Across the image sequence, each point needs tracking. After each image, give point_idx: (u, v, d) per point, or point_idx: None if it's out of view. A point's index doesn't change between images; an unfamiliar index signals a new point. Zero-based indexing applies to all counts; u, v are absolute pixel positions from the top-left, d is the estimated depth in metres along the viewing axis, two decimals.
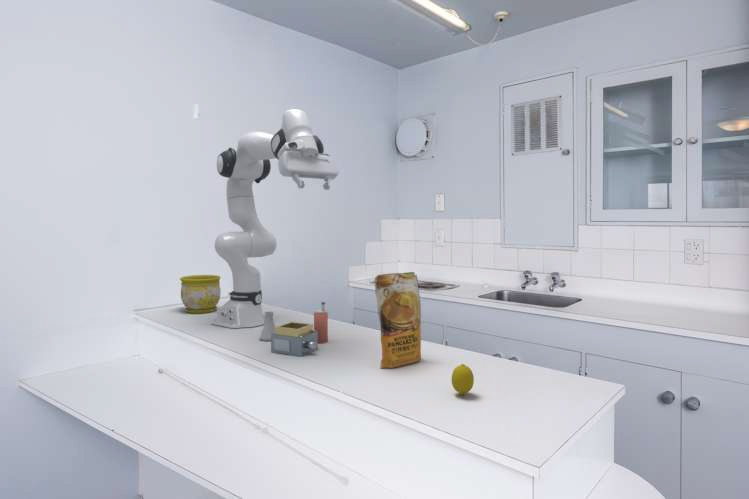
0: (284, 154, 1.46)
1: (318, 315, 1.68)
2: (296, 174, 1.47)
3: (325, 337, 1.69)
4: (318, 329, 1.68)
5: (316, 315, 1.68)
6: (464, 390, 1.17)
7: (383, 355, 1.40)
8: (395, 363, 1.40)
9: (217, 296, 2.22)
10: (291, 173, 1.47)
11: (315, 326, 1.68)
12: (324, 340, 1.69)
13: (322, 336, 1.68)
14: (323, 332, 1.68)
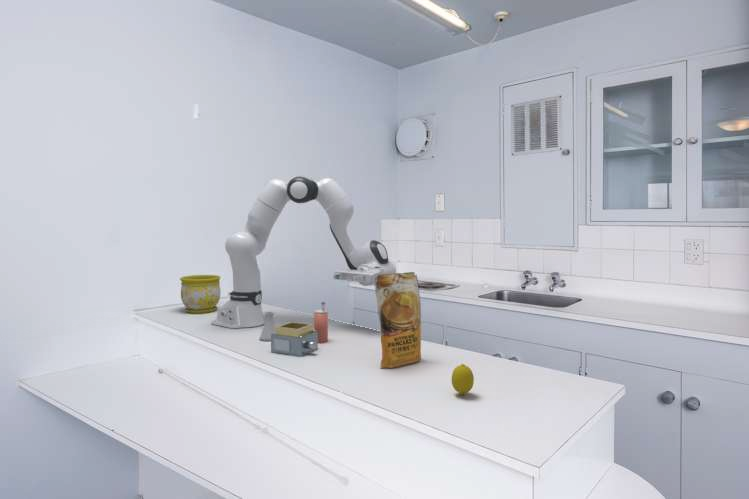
0: None
1: (318, 315, 1.68)
2: (362, 281, 1.78)
3: (325, 337, 1.69)
4: (318, 329, 1.68)
5: (316, 315, 1.68)
6: (464, 390, 1.17)
7: (383, 355, 1.40)
8: (395, 363, 1.40)
9: (217, 296, 2.22)
10: (366, 279, 1.78)
11: (315, 326, 1.68)
12: (324, 340, 1.69)
13: (322, 336, 1.68)
14: (323, 332, 1.68)
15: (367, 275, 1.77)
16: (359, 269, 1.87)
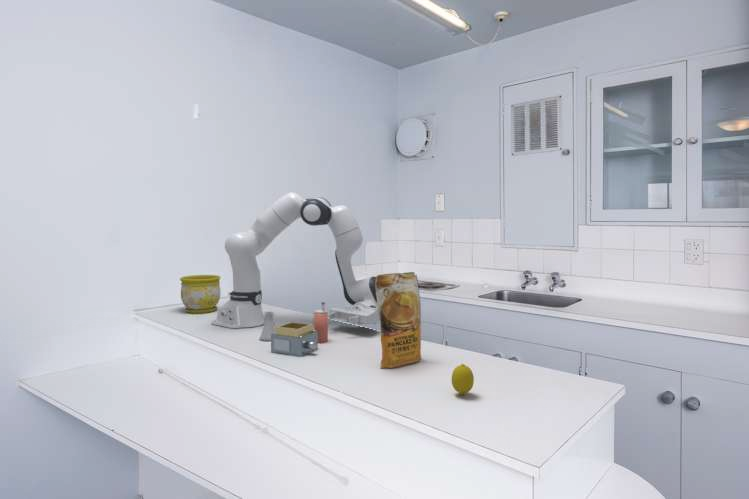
0: (374, 323, 1.80)
1: (318, 315, 1.68)
2: None
3: (325, 337, 1.69)
4: (318, 329, 1.68)
5: (316, 315, 1.68)
6: (464, 390, 1.17)
7: (383, 355, 1.40)
8: (395, 363, 1.40)
9: (217, 296, 2.22)
10: (361, 320, 1.77)
11: (315, 326, 1.68)
12: (324, 340, 1.69)
13: (322, 336, 1.68)
14: (323, 332, 1.68)
15: (362, 316, 1.76)
16: (354, 307, 1.86)
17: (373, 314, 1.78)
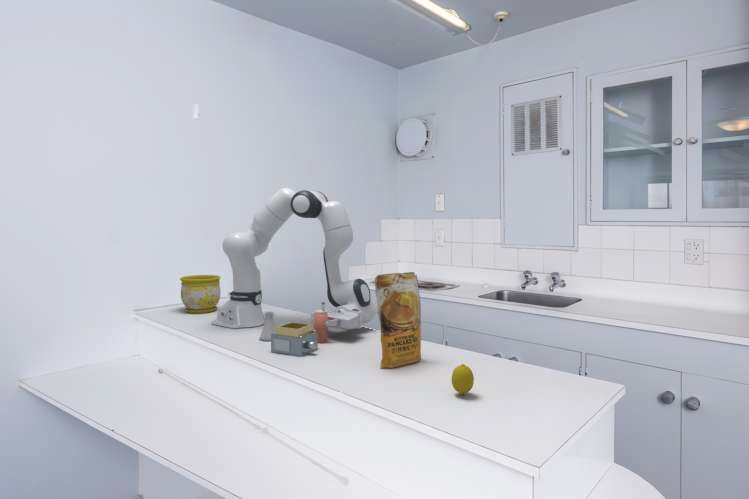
0: (356, 327, 1.72)
1: (318, 315, 1.68)
2: None
3: (325, 337, 1.69)
4: (318, 329, 1.68)
5: (316, 315, 1.68)
6: (464, 390, 1.17)
7: (383, 355, 1.40)
8: (395, 363, 1.40)
9: (217, 296, 2.22)
10: (342, 324, 1.69)
11: (315, 326, 1.68)
12: (324, 340, 1.69)
13: (322, 336, 1.68)
14: (323, 332, 1.68)
15: (344, 320, 1.68)
16: (336, 311, 1.78)
17: (355, 318, 1.70)
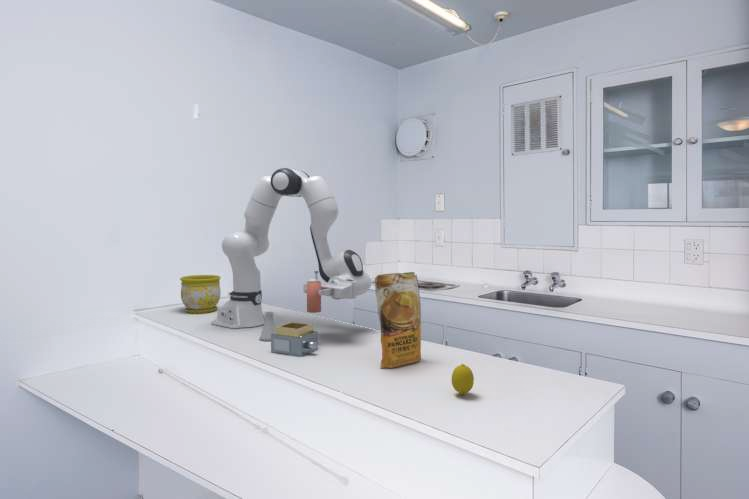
0: (350, 297, 1.68)
1: (311, 284, 1.64)
2: (329, 294, 1.66)
3: (318, 307, 1.65)
4: (311, 299, 1.64)
5: (309, 284, 1.64)
6: (464, 390, 1.17)
7: (383, 355, 1.40)
8: (395, 363, 1.40)
9: (217, 296, 2.22)
10: (336, 293, 1.65)
11: (308, 295, 1.64)
12: (317, 310, 1.65)
13: (315, 305, 1.64)
14: (316, 301, 1.64)
15: (337, 289, 1.64)
16: (330, 282, 1.74)
17: (349, 287, 1.66)
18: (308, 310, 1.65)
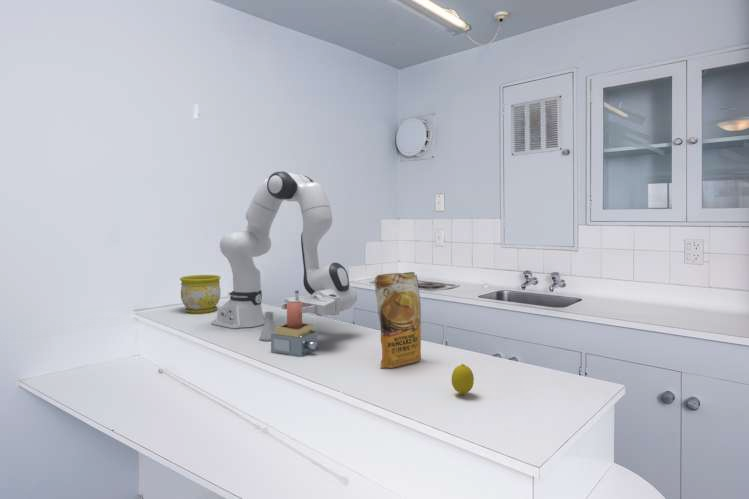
0: (333, 314, 1.59)
1: (291, 304, 1.55)
2: None
3: None
4: (291, 320, 1.55)
5: (289, 304, 1.55)
6: (464, 390, 1.17)
7: (383, 355, 1.40)
8: (395, 363, 1.40)
9: (217, 296, 2.22)
10: (317, 310, 1.56)
11: (288, 316, 1.56)
12: None
13: (296, 327, 1.56)
14: (297, 322, 1.56)
15: (319, 305, 1.56)
16: (313, 297, 1.66)
17: (332, 304, 1.58)
18: None
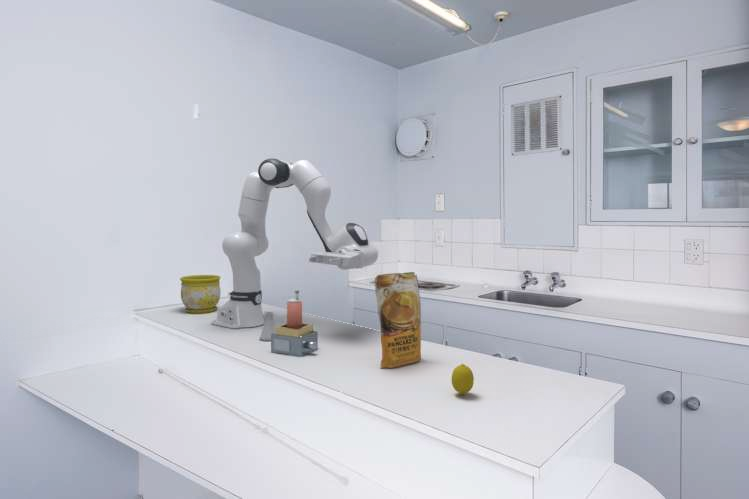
0: (357, 266, 1.69)
1: (291, 304, 1.55)
2: (339, 264, 1.66)
3: None
4: (291, 320, 1.55)
5: (289, 304, 1.55)
6: (464, 390, 1.17)
7: (383, 355, 1.40)
8: (395, 363, 1.40)
9: (217, 296, 2.22)
10: (343, 262, 1.65)
11: (288, 316, 1.56)
12: None
13: (296, 327, 1.56)
14: (297, 322, 1.56)
15: (344, 258, 1.65)
16: (337, 252, 1.75)
17: (356, 257, 1.67)
18: None
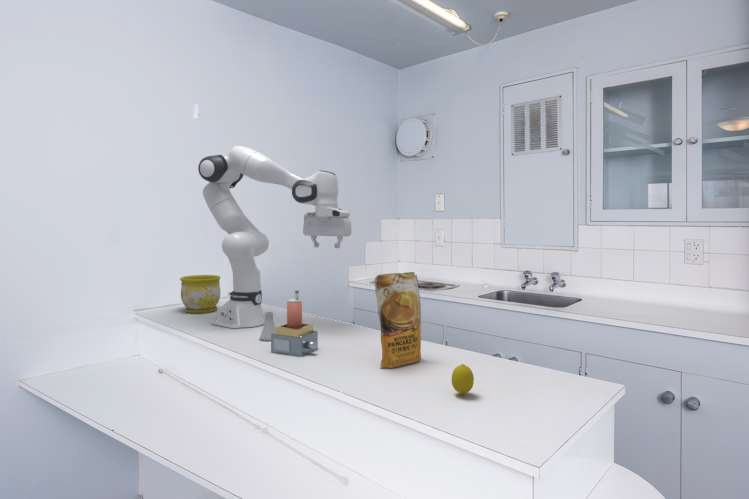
0: None
1: (291, 304, 1.55)
2: None
3: None
4: (291, 320, 1.55)
5: (289, 304, 1.55)
6: (464, 390, 1.17)
7: (383, 355, 1.40)
8: (395, 363, 1.40)
9: (217, 296, 2.22)
10: None
11: (288, 316, 1.56)
12: None
13: (296, 327, 1.56)
14: (297, 322, 1.56)
15: None
16: (321, 220, 1.82)
17: (347, 225, 1.79)
18: None
